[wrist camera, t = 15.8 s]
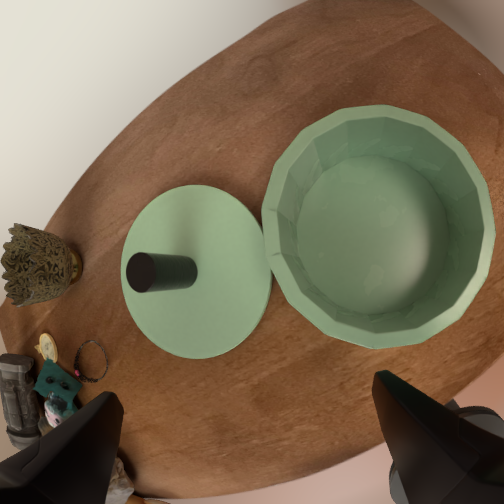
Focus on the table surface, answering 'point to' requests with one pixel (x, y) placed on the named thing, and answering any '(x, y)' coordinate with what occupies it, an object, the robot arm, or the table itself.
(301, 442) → the table surface
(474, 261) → the pot
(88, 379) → the necklace
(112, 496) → the stone
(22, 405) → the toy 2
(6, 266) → the cup
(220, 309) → the lid
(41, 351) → the pocket watch
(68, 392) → the figurine
